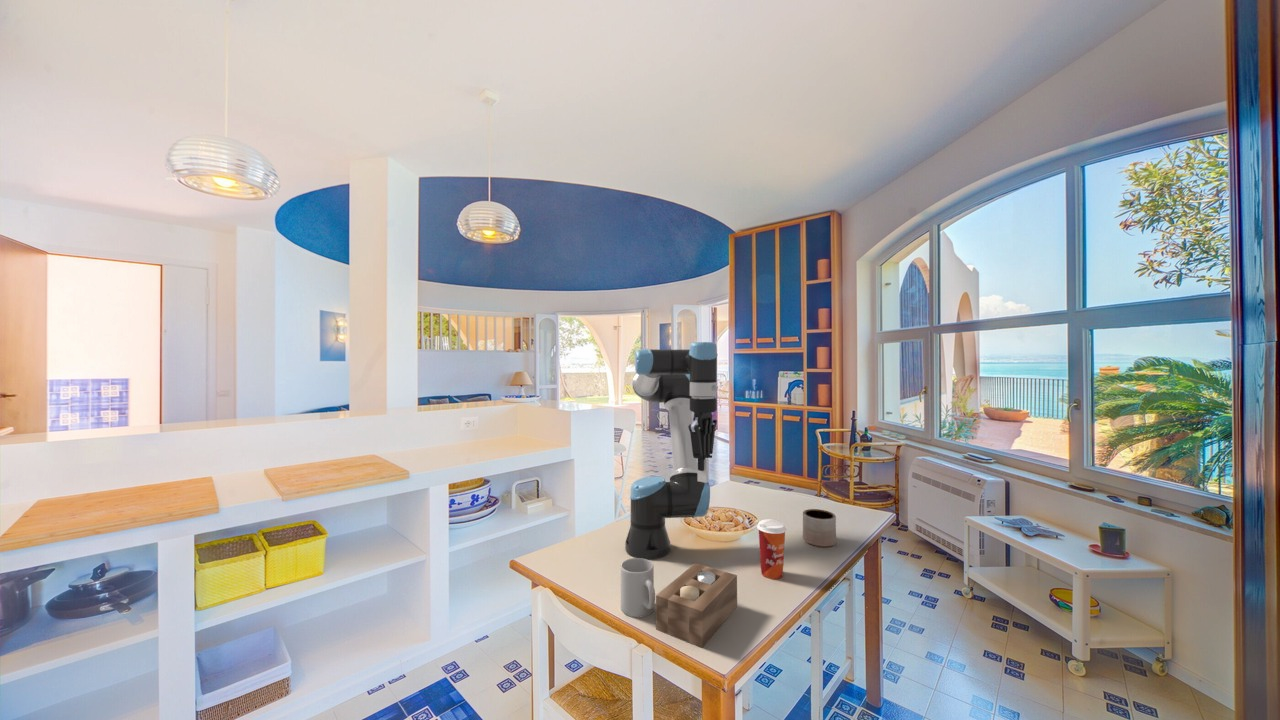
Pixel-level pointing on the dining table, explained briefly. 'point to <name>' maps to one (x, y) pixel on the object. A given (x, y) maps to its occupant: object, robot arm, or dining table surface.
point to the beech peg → (689, 593)
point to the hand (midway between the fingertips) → (703, 481)
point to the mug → (637, 587)
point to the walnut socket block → (696, 605)
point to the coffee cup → (771, 548)
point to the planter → (819, 527)
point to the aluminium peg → (706, 577)
